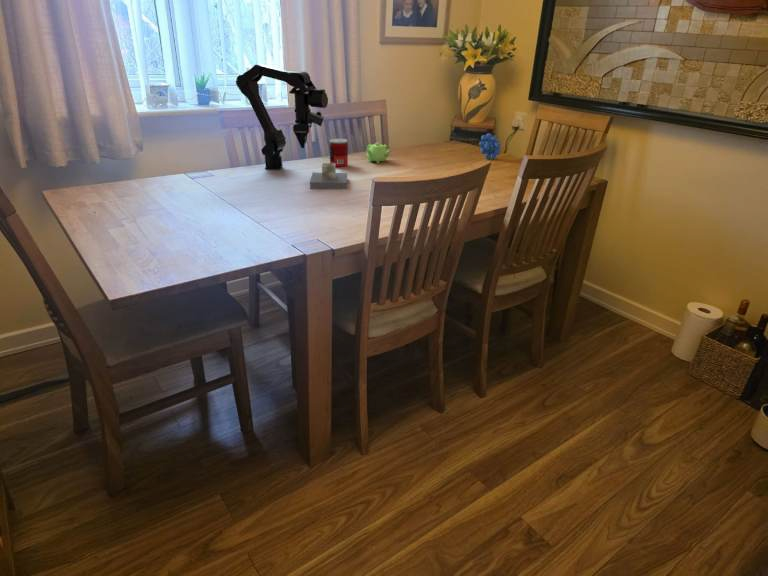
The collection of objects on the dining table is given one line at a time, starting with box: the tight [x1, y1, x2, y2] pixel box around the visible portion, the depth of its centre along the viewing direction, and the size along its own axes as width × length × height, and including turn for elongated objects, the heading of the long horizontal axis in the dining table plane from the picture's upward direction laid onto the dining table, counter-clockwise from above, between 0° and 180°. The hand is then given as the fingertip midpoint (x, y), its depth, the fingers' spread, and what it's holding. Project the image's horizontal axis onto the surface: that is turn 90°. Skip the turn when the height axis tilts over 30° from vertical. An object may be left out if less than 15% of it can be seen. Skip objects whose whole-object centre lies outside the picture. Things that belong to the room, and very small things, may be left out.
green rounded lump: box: [365, 142, 392, 164], centre depth 234 cm, size 11×12×8 cm
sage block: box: [321, 162, 337, 179], centre depth 199 cm, size 5×5×5 cm
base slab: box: [309, 172, 348, 190], centre depth 201 cm, size 14×14×2 cm
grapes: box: [478, 132, 502, 160], centre depth 243 cm, size 12×7×12 cm, turn 50°
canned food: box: [329, 138, 349, 168], centre depth 225 cm, size 8×8×11 cm
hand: (303, 145), depth 211 cm, fingers open, 9 cm apart
